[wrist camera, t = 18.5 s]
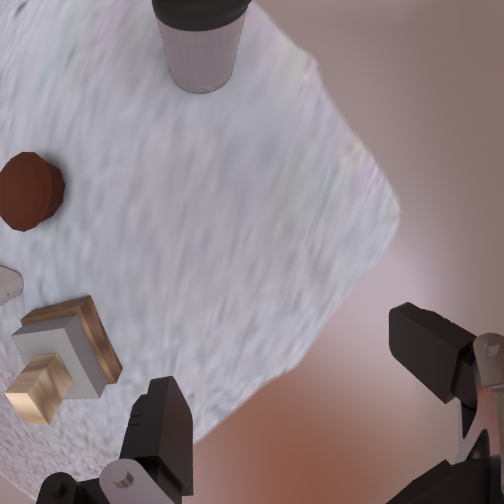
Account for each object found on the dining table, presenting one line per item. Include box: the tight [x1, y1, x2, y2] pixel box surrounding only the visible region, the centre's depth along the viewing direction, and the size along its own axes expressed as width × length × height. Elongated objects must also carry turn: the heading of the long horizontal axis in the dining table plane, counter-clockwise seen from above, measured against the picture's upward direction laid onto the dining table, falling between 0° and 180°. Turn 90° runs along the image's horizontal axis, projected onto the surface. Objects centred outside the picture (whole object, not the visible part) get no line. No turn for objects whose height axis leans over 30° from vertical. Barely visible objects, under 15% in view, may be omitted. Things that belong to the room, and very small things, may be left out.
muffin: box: [0, 152, 65, 232], centre depth 29 cm, size 12×11×10 cm
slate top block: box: [11, 314, 108, 399], centre depth 32 cm, size 12×12×5 cm
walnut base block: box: [20, 295, 123, 384], centre depth 37 cm, size 14×14×5 cm
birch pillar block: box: [5, 353, 74, 425], centre depth 25 cm, size 5×5×10 cm
